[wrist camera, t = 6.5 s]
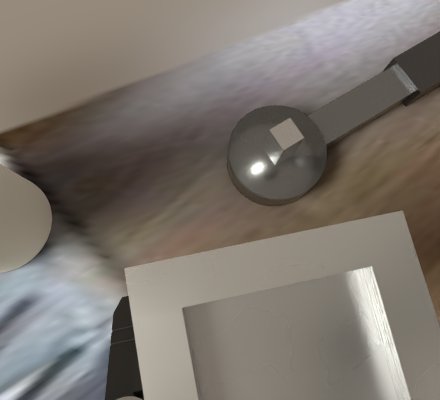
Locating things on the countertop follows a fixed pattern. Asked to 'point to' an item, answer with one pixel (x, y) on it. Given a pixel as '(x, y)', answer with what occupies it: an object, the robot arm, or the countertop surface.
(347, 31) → the countertop surface
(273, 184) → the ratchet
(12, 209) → the cylindrical container
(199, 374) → the socket
